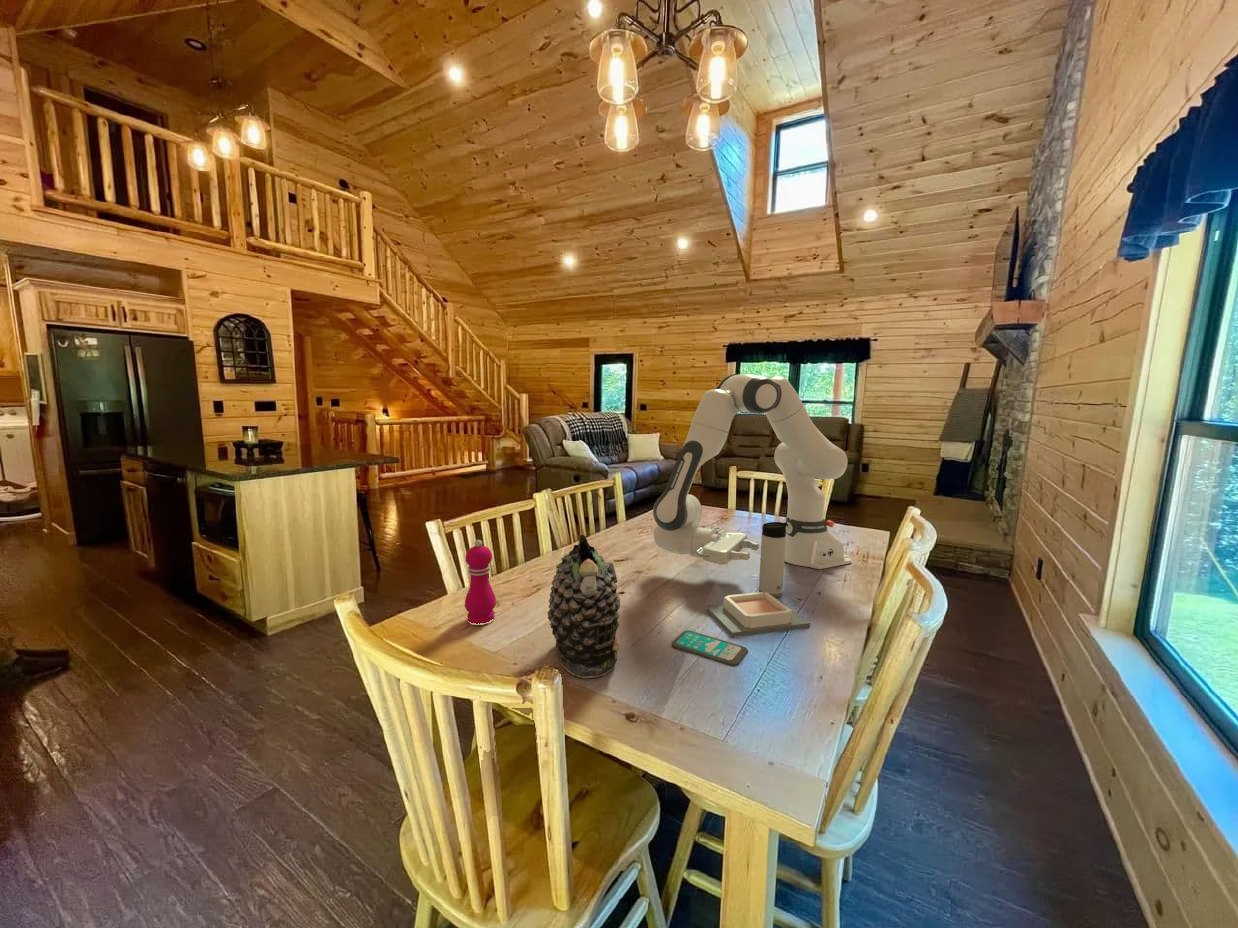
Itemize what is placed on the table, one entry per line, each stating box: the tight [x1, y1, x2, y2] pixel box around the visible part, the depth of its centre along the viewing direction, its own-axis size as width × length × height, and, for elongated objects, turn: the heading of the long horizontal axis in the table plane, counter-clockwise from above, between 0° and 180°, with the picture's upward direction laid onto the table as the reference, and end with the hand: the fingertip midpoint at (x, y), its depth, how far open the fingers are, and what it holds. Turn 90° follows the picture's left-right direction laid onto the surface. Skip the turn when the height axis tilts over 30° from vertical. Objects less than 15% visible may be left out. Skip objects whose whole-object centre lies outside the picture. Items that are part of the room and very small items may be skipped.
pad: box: [735, 599, 778, 615], centre depth 120 cm, size 9×9×2 cm
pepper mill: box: [464, 539, 497, 624], centre depth 117 cm, size 7×7×20 cm
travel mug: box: [758, 521, 788, 599], centre depth 135 cm, size 6×7×20 cm
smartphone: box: [671, 629, 749, 667], centre depth 107 cm, size 9×1×15 cm
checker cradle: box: [705, 591, 811, 639], centre depth 120 cm, size 20×14×4 cm
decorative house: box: [547, 534, 622, 679], centre depth 102 cm, size 21×15×25 cm
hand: (753, 551), depth 137 cm, fingers open, 8 cm apart
